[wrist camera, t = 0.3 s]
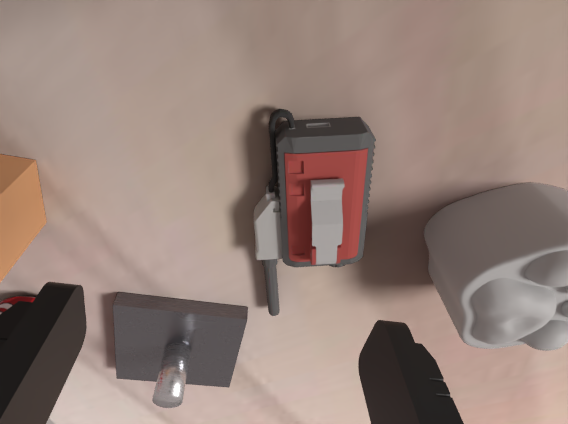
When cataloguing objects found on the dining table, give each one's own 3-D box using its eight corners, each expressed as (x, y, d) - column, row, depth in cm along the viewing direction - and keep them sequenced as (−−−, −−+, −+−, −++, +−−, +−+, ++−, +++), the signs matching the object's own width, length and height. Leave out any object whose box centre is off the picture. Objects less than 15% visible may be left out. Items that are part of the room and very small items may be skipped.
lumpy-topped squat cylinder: (420, 208, 30) (467, 288, 23) (592, 162, 29) (699, 235, 22) (430, 290, 36) (470, 374, 29) (573, 257, 34) (651, 338, 27)
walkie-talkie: (240, 104, 25) (262, 303, 37) (237, 132, 21) (262, 342, 33) (372, 97, 25) (352, 297, 37) (390, 123, 22) (361, 336, 33)
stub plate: (118, 292, 34) (91, 355, 29) (247, 306, 36) (245, 369, 31) (121, 365, 41) (100, 427, 36) (230, 374, 43) (225, 435, 38)
